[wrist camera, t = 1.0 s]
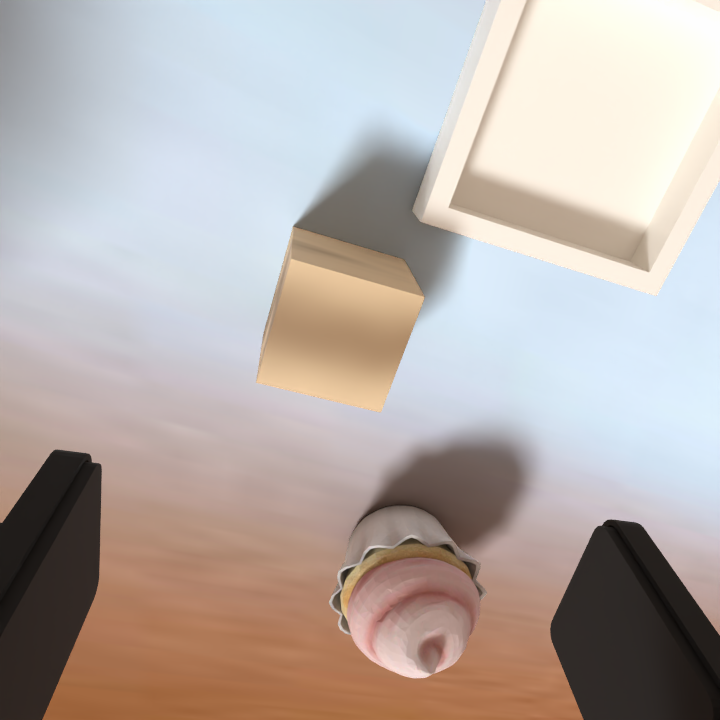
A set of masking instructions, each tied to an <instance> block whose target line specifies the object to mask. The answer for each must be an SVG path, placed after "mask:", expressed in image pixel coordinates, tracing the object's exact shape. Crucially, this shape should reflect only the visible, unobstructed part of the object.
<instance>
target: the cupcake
mask: <svg viewBox="0 0 720 720" xmlns="http://www.w3.org/2000/svg"><path fill="white" fill-rule="evenodd" d="M479 570H480V562H478V561H477V560H475V559H474V558H472V557H471V556H469V555H468V554H466V553H465V552H464V551H462V550H461V549H460V548H459V547H458V546H457V545H456V544H455V542H454V541H453V540H452V539H451V538H450V536H449V535H448V534H447V532H446V531H445V529H444V528H443V527H442V525H441V524H440V523H439V521H438V520H437V519H436V518H435V517H434V516H432V515H431V514H429V513H427V512H426V511H424V510H422V509H419V508H416V507H413V506H404V505H398V506H390V507H385V508H382V509H379V510H377V511H375V512H373V513H371V514H370V515H368V516H367V517H365V518H364V519H363V520H362V521H361V522H360V523H359V524H358V526H357V527H356V528H355V530H354V531H353V533H352V535H351V537H350V539H349V543H348V548H347V553H346V559H345V562H344V563H343V565H342V567H341V568H340V570H339V571H338V576H337V578H338V584H337V586H336V588H335V590H334V592H333V594H332V597H331V599H330V601H329V604H330V606H331V608H332V609H333V610H335V611H336V612H337V613H338V614H340V618H339V622H338V625H339V627H340V630H342V631H343V632H344V633H346V634H350V635H352V638H353V640H354V642H355V644H356V645H357V647H358V648H359V649H360V650H361V651H362V652H363V653H364V654H365V655H366V656H367V657H368V658H369V659H370V660H372V661H373V662H375V663H377V664H378V665H380V666H382V667H384V668H386V669H388V670H390V671H393V672H396V673H398V674H400V675H403V676H406V677H411V678H426V677H428V676H430V675H432V674H434V673H437V672H439V671H442V670H444V669H446V668H448V667H450V666H451V665H453V664H454V663H455V662H456V661H457V660H458V659H459V657H460V656H461V654H462V653H463V651H464V650H465V648H466V645H467V642H468V639H469V636H470V635H471V634H472V632H473V631H474V629H475V626H476V624H477V622H478V619H479V615H480V600H481V599H482V598H484V596H485V595H486V594H487V592H486V590H485V588H484V587H483V586H482V585H481V584H480V583H479V582H478V581H477V580H476V578H477V575H478V573H479Z"/></svg>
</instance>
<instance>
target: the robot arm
mask: <svg viewBox="0 0 720 720" xmlns="http://www.w3.org/2000/svg"><path fill="white" fill-rule="evenodd" d="M101 475H102V469H101V464H99V463H92V460H91V456H90V454H87V453H79V452H71V451H63V450H54V451H53V452H52V453H51V454H50V456H49V457H48V458H47V460H46V461H45V463H44V464H43V466H42V467H41V468H40V470H39V471H38V473H37V474H36V476H35V477H34V478H33V480H32V481H31V483H30V484H29V486H28V487H27V488H26V490H25V491H24V493H23V494H22V496H21V497H20V498H19V500H18V501H17V503H16V504H15V506H14V507H13V508H12V510H11V511H10V513H9V514H8V516H7V517H6V519H5V520H4V521H3V523H0V720H42V719H43V717H44V714H45V712H46V710H47V707H48V705H49V703H50V700H51V698H52V696H53V693H54V691H55V689H56V686H57V684H58V682H59V679H60V677H61V674H62V672H63V670H64V667H65V665H66V663H67V660H68V658H69V656H70V653H71V651H72V649H73V646H74V644H75V642H76V639H77V637H78V635H79V632H80V630H81V628H82V625H83V623H84V621H85V618H86V616H87V614H88V611H89V609H90V607H91V604H92V602H93V600H94V597H95V594H96V591H97V586H98V581H99V560H100V518H101ZM550 630H551V639H552V643H553V645H554V648H555V650H556V652H557V655H558V657H559V660H560V662H561V665H562V667H563V670H564V672H565V675H566V677H567V680H568V682H569V685H570V687H571V690H572V692H573V694H574V697H575V699H576V702H577V704H578V707H579V709H580V712H581V714H582V717H583V719H584V720H720V635H719V634H718V633H717V631H716V630H715V628H714V627H713V626H712V624H711V623H710V621H709V620H708V618H707V617H706V616H705V614H704V613H703V611H702V610H701V609H700V607H699V606H698V604H697V603H696V601H695V600H694V599H693V597H692V596H691V594H690V593H689V592H688V590H687V589H686V587H685V586H684V584H683V583H682V582H681V580H680V579H679V577H678V576H677V574H676V573H675V572H674V570H673V569H672V567H671V566H670V565H669V563H668V562H667V560H666V559H665V557H664V556H663V555H662V553H661V552H660V550H659V549H658V548H657V546H656V545H655V543H654V542H653V540H652V539H651V538H650V536H649V535H648V533H647V532H646V531H645V529H644V528H643V527H642V526H641V525H640V524H638V523H635V522H627V521H619V520H607V521H606V522H604V524H603V525H602V526H598V527H597V528H596V529H595V530H594V532H593V534H592V536H591V538H590V540H589V543H588V545H587V547H586V549H585V551H584V553H583V555H582V558H581V560H580V562H579V564H578V566H577V568H576V570H575V573H574V575H573V577H572V579H571V581H570V583H569V585H568V588H567V590H566V592H565V594H564V596H563V598H562V600H561V603H560V605H559V607H558V609H557V611H556V613H555V615H554V618H553V620H552V623H551V628H550Z"/></svg>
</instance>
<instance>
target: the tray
mask: <svg viewBox="0 0 720 720" xmlns="http://www.w3.org/2000/svg"><path fill="white" fill-rule="evenodd" d="M719 180H720V0H486V2H485V5H484V7H483V10H482V13H481V16H480V19H479V22H478V25H477V27H476V30H475V33H474V36H473V39H472V42H471V44H470V47H469V50H468V53H467V56H466V59H465V61H464V64H463V67H462V70H461V73H460V76H459V78H458V81H457V84H456V87H455V90H454V93H453V95H452V98H451V101H450V104H449V107H448V110H447V112H446V115H445V118H444V121H443V124H442V127H441V129H440V132H439V135H438V138H437V141H436V144H435V146H434V149H433V152H432V155H431V158H430V161H429V163H428V166H427V169H426V172H425V175H424V178H423V180H422V183H421V186H420V189H419V192H418V195H417V197H416V200H415V203H414V206H413V209H412V212H413V213H414V214H415V215H416V217H417V218H418V219H419V220H420V222H422V223H425V224H428V225H431V226H435V227H438V228H441V229H444V230H447V231H451V232H454V233H457V234H460V235H463V236H466V237H470V238H473V239H476V240H479V241H482V242H486V243H489V244H492V245H495V246H498V247H502V248H505V249H508V250H511V251H514V252H517V253H521V254H524V255H527V256H530V257H533V258H537V259H540V260H543V261H546V262H549V263H552V264H556V265H559V266H562V267H565V268H568V269H572V270H575V271H578V272H581V273H584V274H587V275H591V276H594V277H597V278H600V279H603V280H607V281H610V282H613V283H616V284H619V285H623V286H626V287H629V288H632V289H635V290H638V291H642V292H645V293H648V294H651V295H654V296H657V294H658V292H659V291H660V289H661V287H662V285H663V283H664V281H665V280H666V278H667V276H668V274H669V272H670V270H671V269H672V267H673V265H674V263H675V261H676V259H677V258H678V256H679V254H680V252H681V250H682V248H683V247H684V245H685V243H686V241H687V239H688V237H689V235H690V234H691V232H692V230H693V228H694V226H695V224H696V223H697V221H698V219H699V217H700V215H701V213H702V212H703V210H704V208H705V206H706V204H707V202H708V201H709V199H710V197H711V195H712V193H713V191H714V190H715V188H716V186H717V184H718V182H719Z"/></svg>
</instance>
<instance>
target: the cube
mask: <svg viewBox="0 0 720 720" xmlns="http://www.w3.org/2000/svg"><path fill="white" fill-rule="evenodd" d="M424 298H425V296H424V295H423V293H422V291H421V289H420V287H419V285H418V284H417V282H416V280H415V278H414V276H413V275H412V273H411V271H410V269H409V267H408V265H407V264H406V262H405V260H404V259H401V258H398V257H394V256H391V255H387V254H384V253H381V252H377V251H374V250H371V249H367V248H364V247H361V246H357V245H354V244H351V243H347V242H344V241H341V240H337V239H334V238H330V237H327V236H324V235H320V234H317V233H314V232H310V231H307V230H304V229H300V228H297V227H294V226H293V229H292V232H291V236H290V239H289V243H288V247H287V250H286V254H285V257H284V261H283V265H282V268H281V272H280V276H279V279H278V283H277V286H276V290H275V294H274V297H273V301H272V304H271V308H270V312H269V315H268V319H267V322H266V326H265V330H264V334H263V341H262V347H261V354H260V361H259V367H258V374H257V381H256V383H260V384H264V385H268V386H272V387H276V388H281V389H285V390H289V391H293V392H297V393H301V394H306V395H310V396H314V397H318V398H322V399H326V400H331V401H335V402H339V403H343V404H347V405H351V406H356V407H360V408H364V409H368V410H372V411H376V412H381V411H382V408H383V405H384V403H385V400H386V397H387V395H388V392H389V390H390V387H391V384H392V382H393V379H394V377H395V374H396V371H397V369H398V366H399V364H400V361H401V358H402V356H403V353H404V350H405V348H406V345H407V343H408V340H409V337H410V335H411V332H412V330H413V327H414V324H415V322H416V319H417V317H418V314H419V311H420V309H421V306H422V304H423V301H424Z"/></svg>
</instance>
